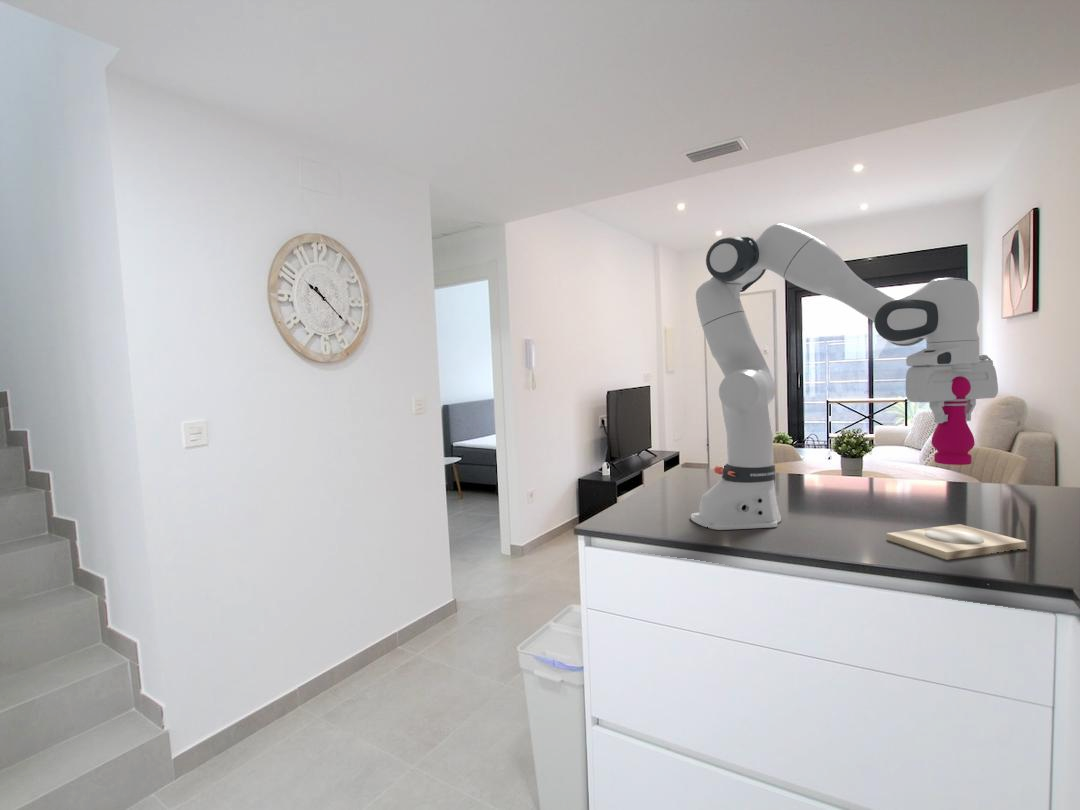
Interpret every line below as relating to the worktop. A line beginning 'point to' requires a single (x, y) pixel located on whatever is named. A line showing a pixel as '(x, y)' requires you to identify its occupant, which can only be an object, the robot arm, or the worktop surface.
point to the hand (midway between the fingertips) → (952, 422)
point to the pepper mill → (954, 428)
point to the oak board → (955, 541)
